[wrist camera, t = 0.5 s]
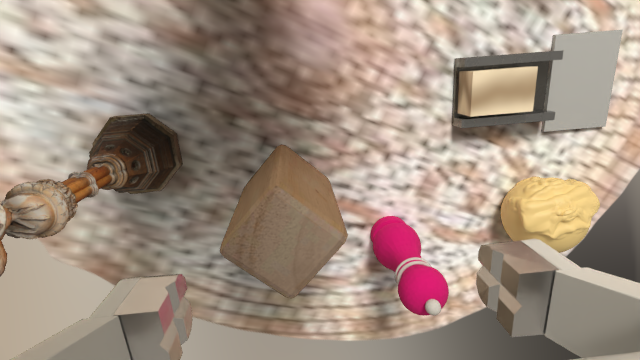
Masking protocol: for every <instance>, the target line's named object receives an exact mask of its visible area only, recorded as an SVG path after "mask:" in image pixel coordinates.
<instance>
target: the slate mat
mask: <svg viewBox="0 0 640 360" xmlns="http://www.w3.org/2000/svg"><path fill="white" fill-rule="evenodd" d="M622 31H623V30H614V31H600V32H587V33H573V34H560V35H553V41H552V49H551V51H562V50H564V51H563V59H562V60H551V61H550V65H549V73H548V82H547V90H546V98H545V106H544V110H547V111H554V112H555V119H554V120H549V121H543V122H542V131H543V132H547V131H558V130H570V129H581V128H592V127H604V126H606V120H607V115H608V109H609V103H610V98H611V92H612V87H613V81H614V75H615V70H616V64H617V59H618V53H619V47H620V42H621V36H622Z"/></svg>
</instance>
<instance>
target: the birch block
mask: <svg viewBox="0 0 640 360" xmlns="http://www.w3.org/2000/svg"><path fill="white" fill-rule="evenodd" d="M537 71H538V66H534V67H509V68H497V69H484V70H471V71H459V92H458V114H462V115H466V116H470V117H472V116H484V115H496V114H507V113H519V112H531V111H533V106H534V97H535V88H536V79H537Z"/></svg>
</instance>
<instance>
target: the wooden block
mask: <svg viewBox="0 0 640 360" xmlns="http://www.w3.org/2000/svg"><path fill="white" fill-rule="evenodd" d="M347 236H348V234H347V231H346V228H345V225H344V222H343V219H342V216H341V213H340V211H339V208H338V205H337V202H336V199H335V196H334V193H333V190H332V187H331V184H330V181H329V180H328V178H327V177H326V176H324V175H323V174H322V173H320V172H319V171H318V170H317V169H315V168H314V167H313V166H311V165H310V164H309V163H308V162H306V161H305V160H304V159H303V158H301V157H300V156H299V155H297V154H296V153H295V152H294V151H292V150H291V149H290V148H288V147H287V146H285V145H280V146H278V147H276V149H275V150H274V151H273V152H272V154H271V155H270V156H269V157H268V159H267V160H266V161H265V162H264V164H263V165H262V166H261V167H260V169H259V170H258V171H257V172H256V174H255V175H254V176H253V177H252V179H251V180H250V181H249V182H248V184H247V185H246V186H245V187H244V190H243V192H242V194H241V197H240V199H239V202H238V204H237V207H236V209H235V212H234V214H233V217H232V219H231V222H230V224H229V226H228V229H227V231H226V234H225V236H224V239H223V241H222V244H221V248H220V253H221V254H222V255H223V256H224V258H226V259H228V260H229V261H231V262H232V263H234V264H235V265H237V266H238V267H240V268H242V269H243V270H245V271H246V272H248V273H249V274H251V275H252V276H254V277H256V278H257V279H259V280H260V281H262V282H263V283H265V284H266V285H268V286H270V287H271V288H273V289H274V290H276V291H277V292H279V293H280V294H282V295H284V296H285V297H287V298H291V299H292V298H294V297H295V296H297V295H298V293H299V292H300V291H301V290H302V289H303V288H304V287H305V286H306V285H307V284H308V282H309V281H310V280H311V279H312V278H313V277H314V276H315V275H316V274H317V273H318V271H319V270H320V269H321V268H322V267H323V266H324V265H325V264H326V263H327V262H328V260H329V259H330V258H331V257H332V256H333V255H334V254H335V253H336V252H337V251H338V250H339V248H340V247H341V246H342V245H343V244H344V243H345V241H346V239H347Z"/></svg>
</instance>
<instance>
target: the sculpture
mask: <svg viewBox="0 0 640 360" xmlns="http://www.w3.org/2000/svg"><path fill="white" fill-rule="evenodd" d="M599 206H600V203H599V200H598V198H597V196H596V195H595V194H594V193H593V192H592V191H591V188H590V187H589V186H588V185H587V184H586V183H583V182H579V181H576V180H574V179H567V180H562V179H559V178H540V177H531V178H528V179H524V180H522V181H520V182H518V183H517V184H516V185H515V187H514V188H512V189H511V190H510V191H509V192H508V193H507V195H506V196H505V198H504V200H503V202H502V206H501V220H502V224H503V226H504V229H505V231H506V232H507V234H508V235H509V236H510V238H511V239H512V240H513V241H520V240H527V239H539V240H541V241H542V242H544V243H545V244H547V245H548V246H550V247H551V248H553V249H554V250H556V251H557V252H559V253H560V252H564V251H566V250H569V249H571V248H573V247H574V246H576V245H577V244H578V243H579V242H580V241H581V240H582V239H583V238H584V237H585V235H586V234H587V232H588V229H589V227H590V224H591V219H592V216H593V215H594V214H595V213H596V212H597V211H598V209H599Z"/></svg>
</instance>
